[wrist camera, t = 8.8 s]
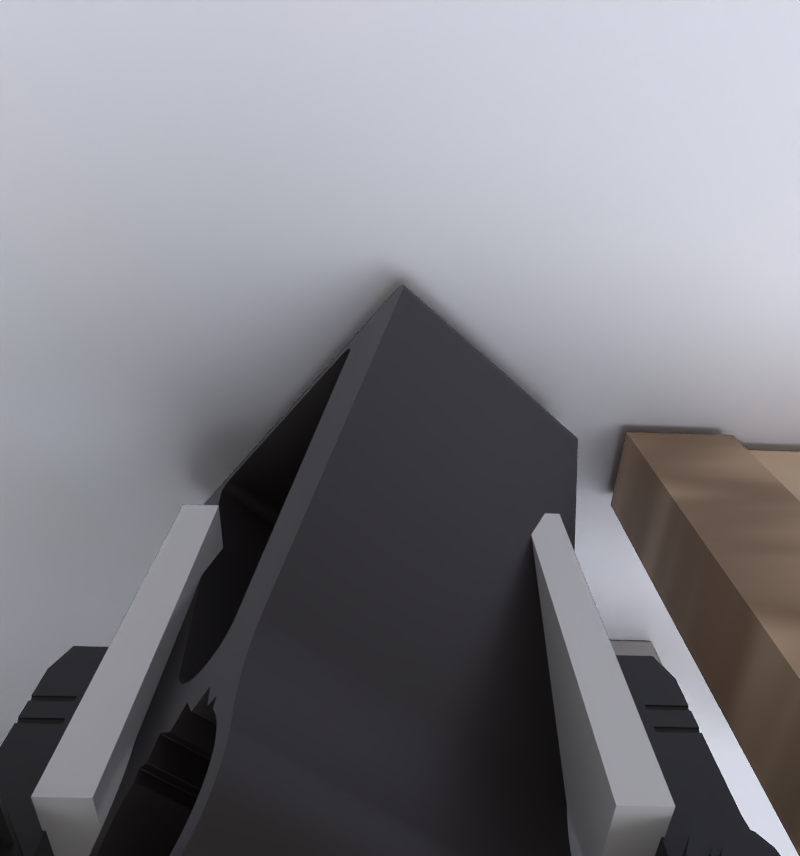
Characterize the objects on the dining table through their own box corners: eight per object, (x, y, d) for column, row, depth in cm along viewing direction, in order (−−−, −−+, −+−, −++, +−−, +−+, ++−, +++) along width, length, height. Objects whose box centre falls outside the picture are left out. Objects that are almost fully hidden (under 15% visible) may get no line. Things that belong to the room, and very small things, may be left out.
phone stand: (405, 280, 15) (430, 706, 5) (575, 432, 17) (879, 995, 6) (187, 519, 18) (-109, 1121, 8) (352, 628, 20) (304, 1236, 9)
